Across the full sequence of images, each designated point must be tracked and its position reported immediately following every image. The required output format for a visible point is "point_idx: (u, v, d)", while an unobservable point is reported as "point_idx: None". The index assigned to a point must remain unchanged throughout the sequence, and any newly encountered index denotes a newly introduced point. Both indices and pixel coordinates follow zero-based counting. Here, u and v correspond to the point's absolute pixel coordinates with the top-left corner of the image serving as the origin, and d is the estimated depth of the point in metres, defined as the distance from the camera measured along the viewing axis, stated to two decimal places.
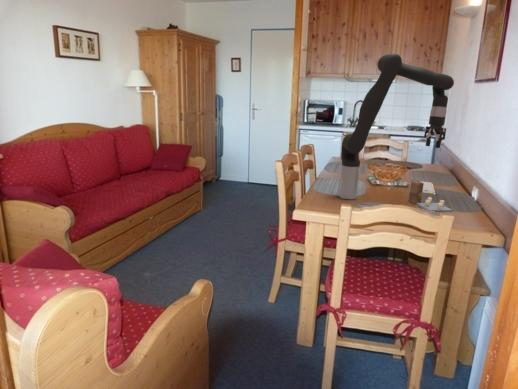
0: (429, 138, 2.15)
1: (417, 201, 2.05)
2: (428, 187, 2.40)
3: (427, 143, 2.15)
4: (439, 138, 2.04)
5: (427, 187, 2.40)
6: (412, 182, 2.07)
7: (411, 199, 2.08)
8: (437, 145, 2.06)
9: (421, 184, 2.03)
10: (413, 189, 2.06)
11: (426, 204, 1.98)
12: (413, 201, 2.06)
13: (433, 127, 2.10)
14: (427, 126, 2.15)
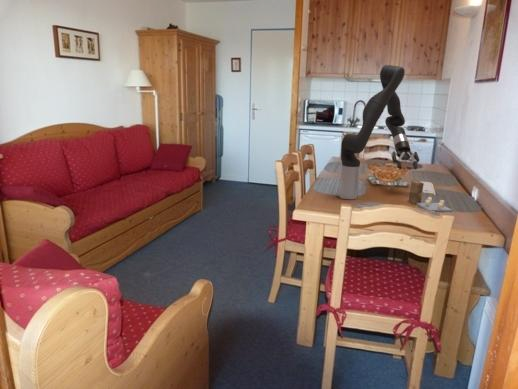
0: None
1: (417, 201, 2.05)
2: (428, 187, 2.40)
3: None
4: (418, 159, 2.18)
5: (427, 187, 2.40)
6: (412, 182, 2.07)
7: (411, 199, 2.08)
8: (416, 165, 2.16)
9: (421, 184, 2.03)
10: (413, 189, 2.06)
11: (426, 204, 1.98)
12: (413, 201, 2.06)
13: (404, 151, 2.20)
14: None
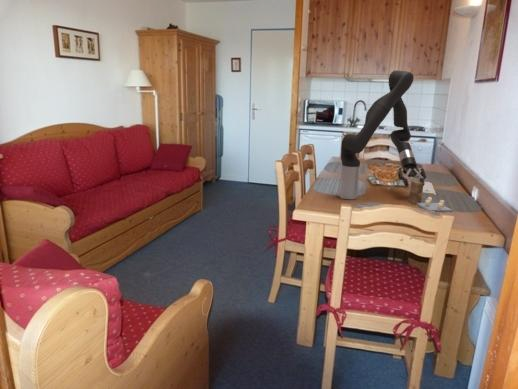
0: None
1: (417, 201, 2.05)
2: (428, 187, 2.40)
3: None
4: (425, 176, 2.10)
5: (427, 187, 2.40)
6: (412, 182, 2.07)
7: (411, 199, 2.08)
8: None
9: (421, 184, 2.03)
10: (413, 189, 2.06)
11: (426, 204, 1.98)
12: (413, 201, 2.06)
13: (410, 168, 2.12)
14: (400, 168, 2.12)
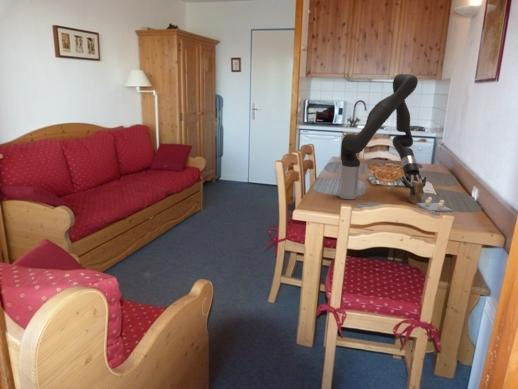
0: None
1: (417, 201, 2.05)
2: (428, 187, 2.40)
3: None
4: (424, 184, 2.07)
5: (427, 187, 2.40)
6: None
7: (411, 199, 2.08)
8: (422, 191, 2.06)
9: (421, 184, 2.03)
10: None
11: (426, 204, 1.98)
12: (413, 201, 2.06)
13: (412, 174, 2.10)
14: None
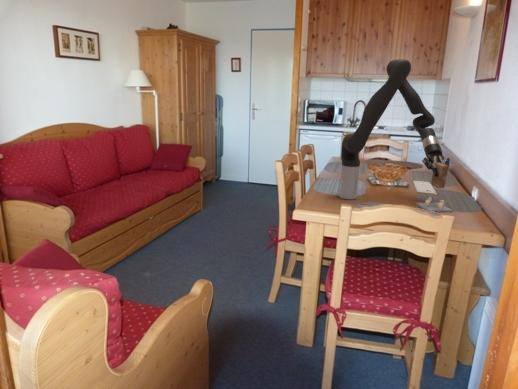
0: None
1: (441, 185, 1.93)
2: (428, 187, 2.40)
3: None
4: None
5: (427, 187, 2.40)
6: (436, 164, 1.94)
7: (434, 183, 1.96)
8: None
9: (446, 167, 1.90)
10: None
11: (426, 204, 1.98)
12: (436, 185, 1.94)
13: (435, 155, 1.98)
14: None
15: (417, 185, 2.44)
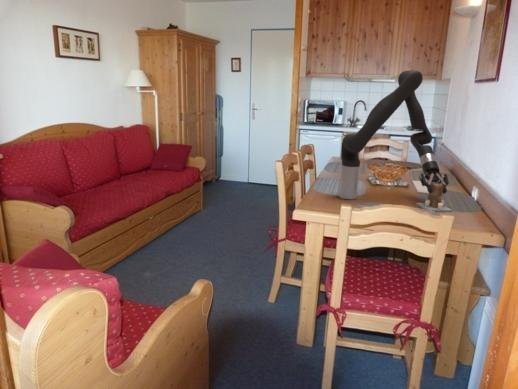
0: None
1: (436, 204, 1.97)
2: None
3: None
4: (447, 182, 1.98)
5: None
6: (431, 184, 1.99)
7: (430, 202, 1.99)
8: (446, 189, 1.96)
9: (441, 187, 1.94)
10: (433, 192, 1.97)
11: (426, 204, 1.98)
12: (432, 204, 1.98)
13: (432, 173, 2.00)
14: (421, 173, 2.00)
15: (417, 185, 2.44)
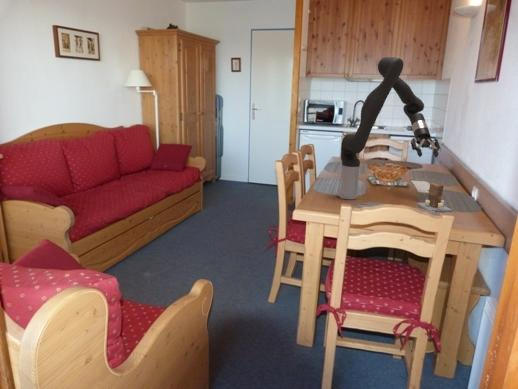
0: None
1: (436, 204, 1.97)
2: (427, 187, 2.40)
3: None
4: (439, 147, 2.07)
5: (426, 187, 2.40)
6: (431, 184, 1.99)
7: (430, 203, 1.99)
8: (437, 153, 2.05)
9: (441, 187, 1.95)
10: (432, 192, 1.97)
11: (426, 204, 1.98)
12: (432, 204, 1.98)
13: (424, 138, 2.09)
14: (413, 138, 2.08)
15: (417, 185, 2.44)
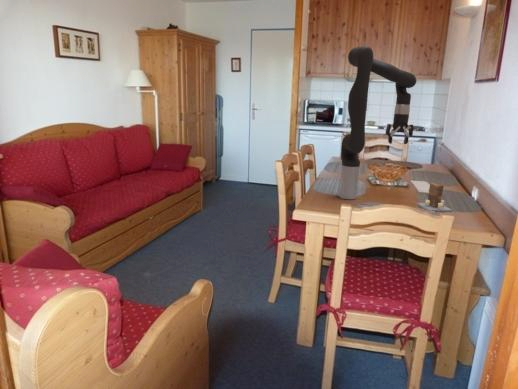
0: None
1: (436, 204, 1.97)
2: (427, 187, 2.40)
3: None
4: (411, 134, 2.15)
5: (426, 187, 2.41)
6: (431, 184, 1.99)
7: (430, 203, 1.99)
8: (407, 141, 2.17)
9: (441, 187, 1.95)
10: (432, 192, 1.97)
11: (426, 204, 1.98)
12: (432, 204, 1.98)
13: (400, 124, 2.13)
14: (390, 124, 2.13)
15: (416, 185, 2.44)
